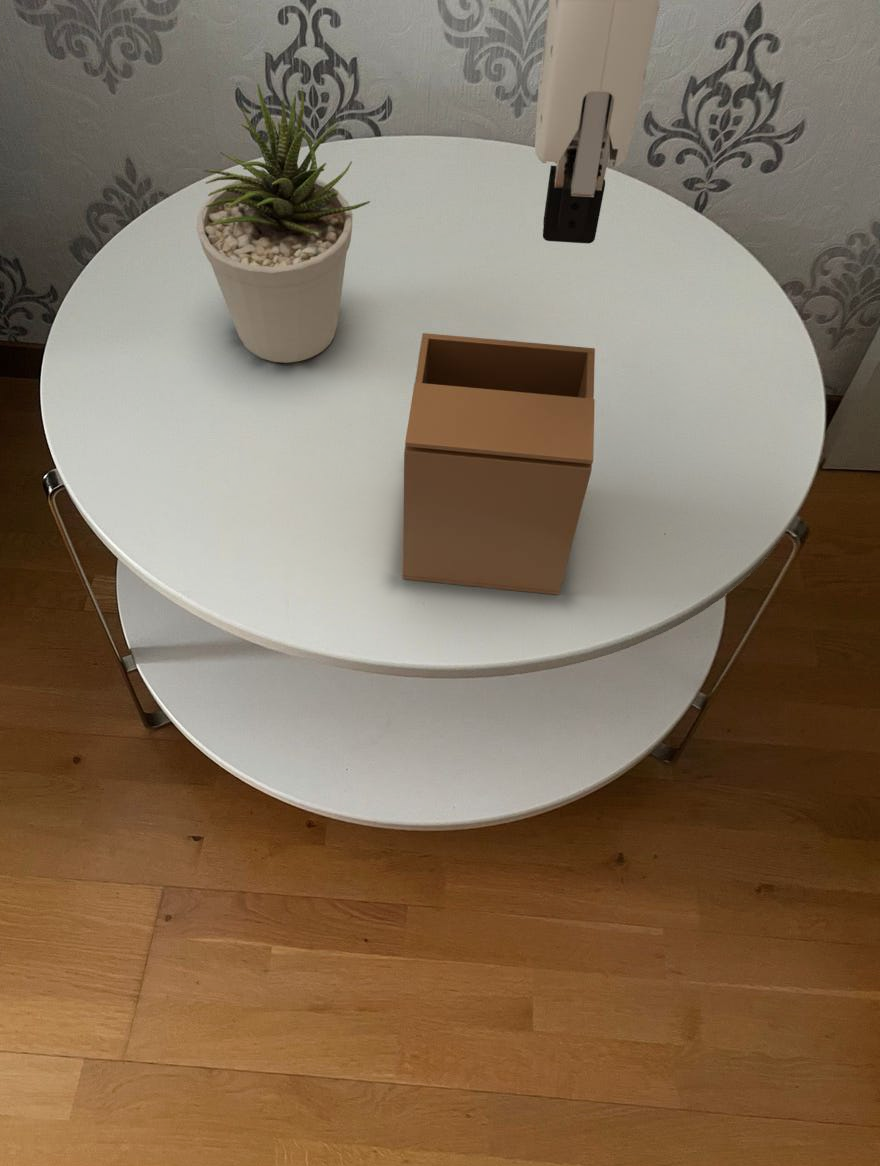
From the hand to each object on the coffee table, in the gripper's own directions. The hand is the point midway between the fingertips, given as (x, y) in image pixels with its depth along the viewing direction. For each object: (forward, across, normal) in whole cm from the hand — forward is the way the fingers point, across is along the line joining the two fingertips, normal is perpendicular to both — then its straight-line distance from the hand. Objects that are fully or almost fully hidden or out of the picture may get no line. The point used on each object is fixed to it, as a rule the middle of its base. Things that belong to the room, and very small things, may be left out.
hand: (568, 233), depth 61 cm
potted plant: (+23, -15, -22) cm, 35 cm away
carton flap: (+8, +9, -3) cm, 12 cm away
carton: (+23, +6, -3) cm, 24 cm away
